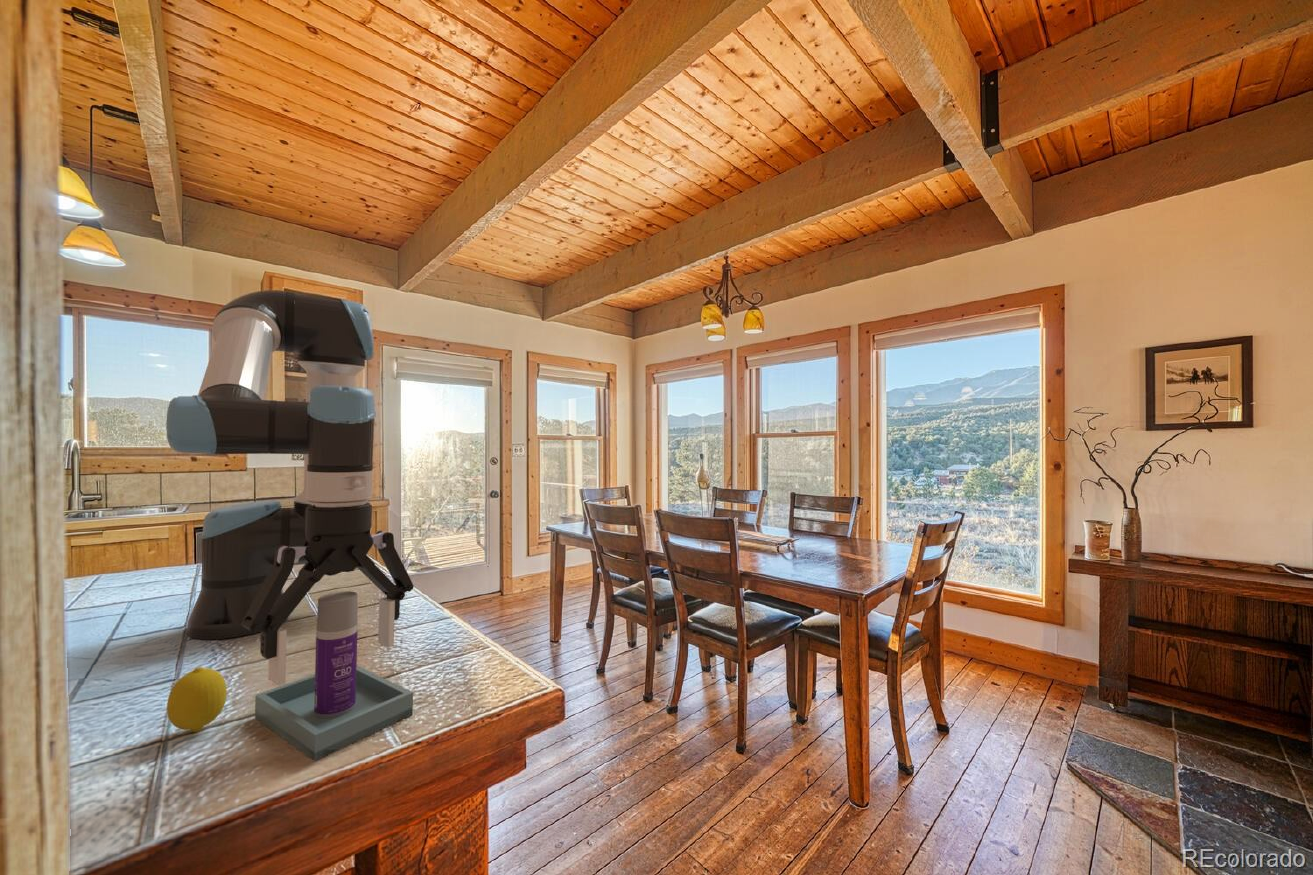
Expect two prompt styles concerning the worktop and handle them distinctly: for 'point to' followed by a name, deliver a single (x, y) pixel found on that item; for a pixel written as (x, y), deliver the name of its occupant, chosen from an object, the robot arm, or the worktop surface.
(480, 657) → the worktop surface
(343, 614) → the container
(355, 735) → the tray
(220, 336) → the robot arm
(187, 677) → the lemon
